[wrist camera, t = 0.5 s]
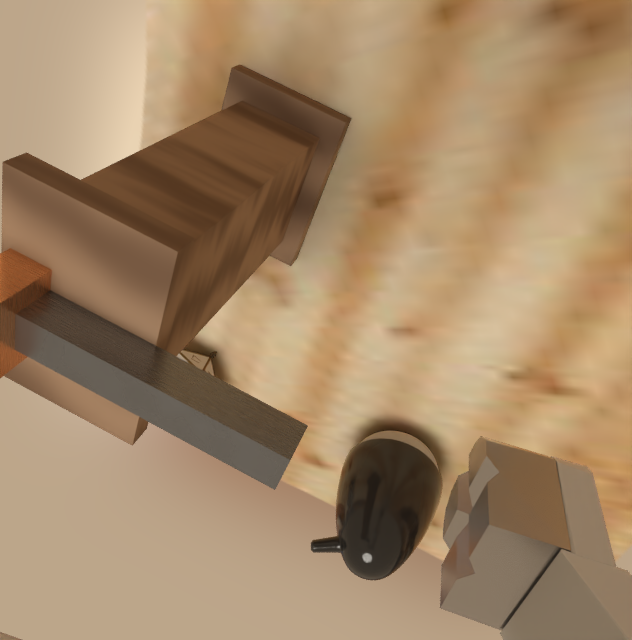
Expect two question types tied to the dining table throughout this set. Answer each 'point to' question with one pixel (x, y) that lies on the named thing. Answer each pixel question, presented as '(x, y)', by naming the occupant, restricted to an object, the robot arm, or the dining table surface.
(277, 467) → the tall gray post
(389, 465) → the pump dispenser
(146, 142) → the dining table surface
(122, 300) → the walnut stand
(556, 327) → the dining table surface
